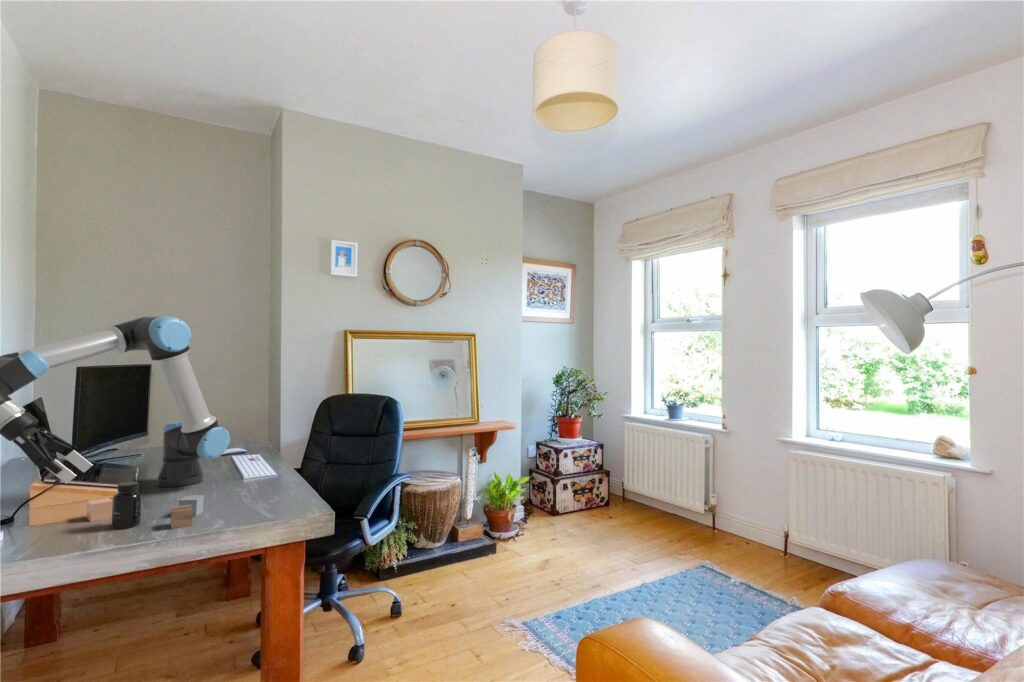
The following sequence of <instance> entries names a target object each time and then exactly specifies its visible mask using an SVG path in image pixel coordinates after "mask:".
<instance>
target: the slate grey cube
mask: <svg viewBox="0 0 1024 682" xmlns="http://www.w3.org/2000/svg"><path fill="white" fill-rule="evenodd" d="M204 499H205V495H204V494H202V495H201V494H200V495H199V494H198V495H197V494H196V495H193V494H192V495H185V496H184V497H183V496H182V498H179V499H178V506H185V505H192V509H193V511H192V517H197V516H199V515H200V514H201V513H202V511H203V512H204V501H205V500H204Z"/></svg>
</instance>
